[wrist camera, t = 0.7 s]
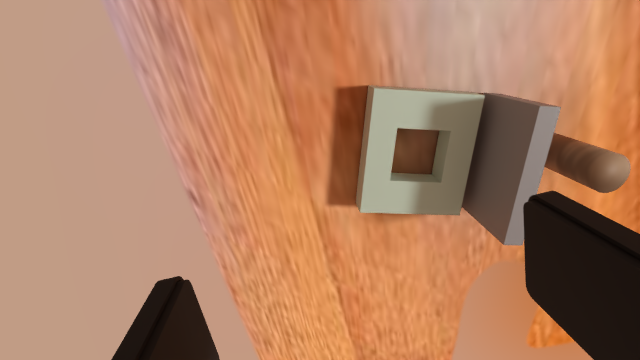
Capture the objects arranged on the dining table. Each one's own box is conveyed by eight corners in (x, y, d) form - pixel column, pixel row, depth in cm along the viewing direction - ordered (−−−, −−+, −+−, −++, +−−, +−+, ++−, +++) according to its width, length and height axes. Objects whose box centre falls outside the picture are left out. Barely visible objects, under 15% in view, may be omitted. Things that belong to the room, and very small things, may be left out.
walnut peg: (532, 130, 45) (597, 152, 35) (563, 132, 45) (636, 154, 36) (524, 162, 46) (585, 192, 37) (554, 163, 46) (622, 193, 37)
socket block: (368, 85, 41) (374, 88, 38) (471, 92, 43) (484, 95, 40) (355, 202, 46) (360, 212, 43) (449, 205, 47) (459, 215, 44)
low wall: (484, 92, 43) (540, 105, 33) (500, 94, 43) (560, 107, 34) (460, 205, 47) (503, 245, 38) (475, 206, 48) (522, 245, 38)
